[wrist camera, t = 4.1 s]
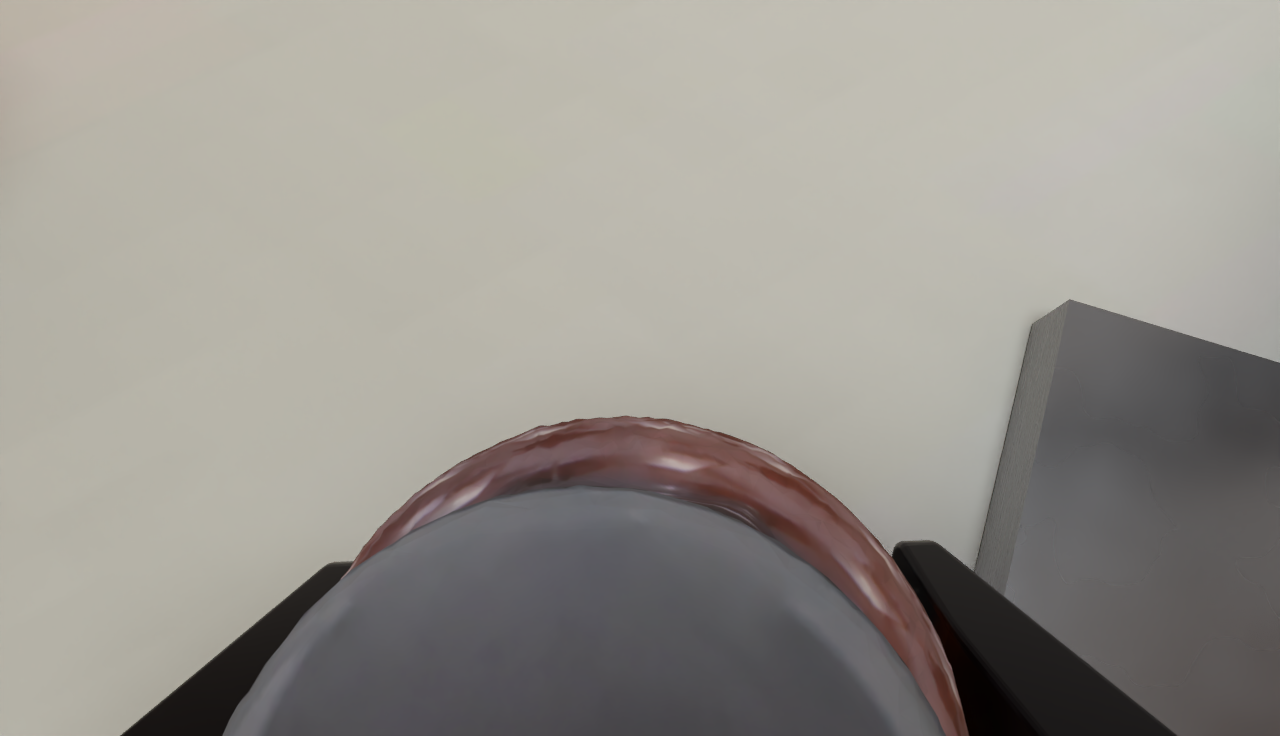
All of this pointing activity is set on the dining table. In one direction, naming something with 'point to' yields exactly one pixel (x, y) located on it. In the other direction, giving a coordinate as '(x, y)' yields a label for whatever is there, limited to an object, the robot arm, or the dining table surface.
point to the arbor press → (1147, 515)
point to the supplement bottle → (614, 604)
